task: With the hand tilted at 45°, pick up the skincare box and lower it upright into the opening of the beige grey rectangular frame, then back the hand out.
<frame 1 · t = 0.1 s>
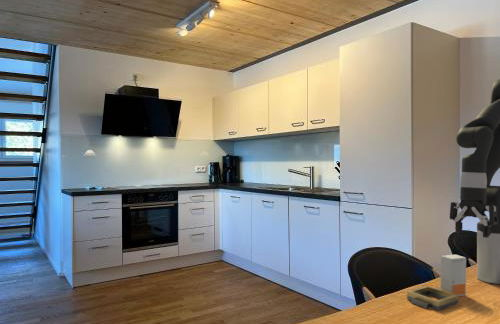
hand: (472, 235, 120), 17 cm above the table, tool pointing down, fingers open, 8 cm apart
skincare box: (453, 295, 114), on the table
beige grey rectangular frame: (432, 301, 109), on the table
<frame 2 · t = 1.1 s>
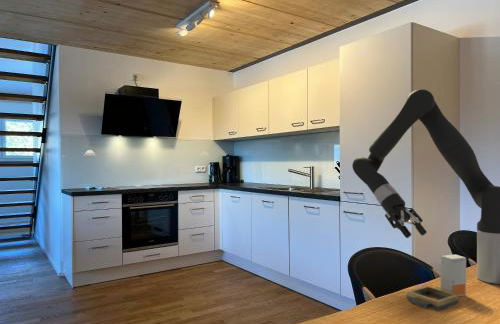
hand: (417, 235, 125), 16 cm above the table, tool tilted 45°, fingers open, 8 cm apart
nothing on the table moved.
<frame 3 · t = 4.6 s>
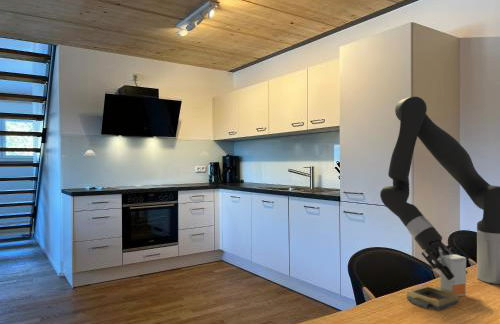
hand: (458, 276, 113), 6 cm above the table, tool tilted 45°, fingers closed on skincare box, 6 cm apart
skincare box: (453, 294, 114), on the table, touching gripper
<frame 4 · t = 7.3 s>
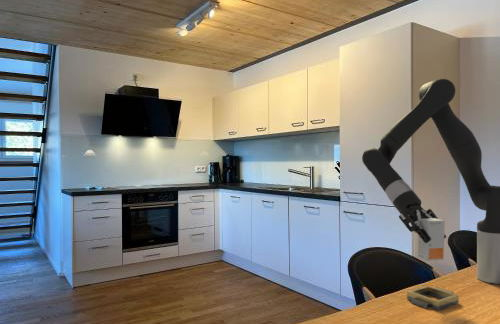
hand: (436, 240, 108), 19 cm above the table, tool tilted 45°, fingers closed on skincare box, 6 cm apart
skincare box: (430, 259, 109), point 12 cm above the table, touching gripper
when the fingers open (7 cm above the table, at t = 9.7 s): skincare box stays where it is, resting in beige grey rectangular frame.
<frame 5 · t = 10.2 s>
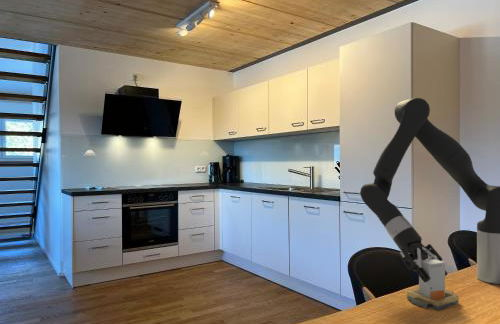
hand: (436, 278, 107), 7 cm above the table, tool tilted 45°, fingers open, 8 cm apart
skincare box: (432, 301, 109), resting in beige grey rectangular frame
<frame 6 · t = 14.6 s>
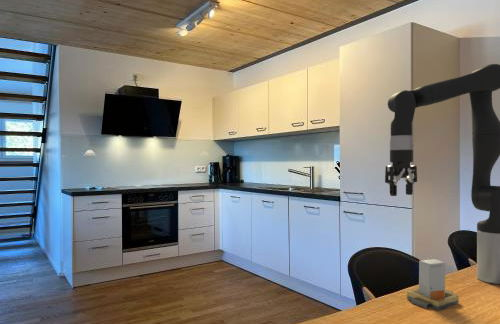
hand: (401, 195, 127), 30 cm above the table, tool pointing down, fingers open, 8 cm apart
nothing on the table moved.
at the end: skincare box 0.3 cm off-centre on the beige grey rectangular frame, point 0.0 cm above the beige grey rectangular frame's base; skincare box tilted 0°; the gripper is holding nothing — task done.
